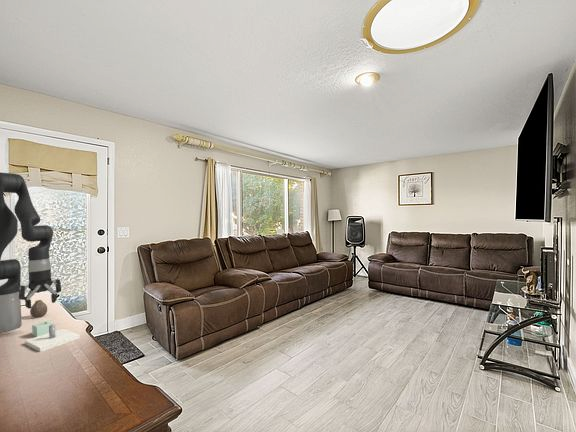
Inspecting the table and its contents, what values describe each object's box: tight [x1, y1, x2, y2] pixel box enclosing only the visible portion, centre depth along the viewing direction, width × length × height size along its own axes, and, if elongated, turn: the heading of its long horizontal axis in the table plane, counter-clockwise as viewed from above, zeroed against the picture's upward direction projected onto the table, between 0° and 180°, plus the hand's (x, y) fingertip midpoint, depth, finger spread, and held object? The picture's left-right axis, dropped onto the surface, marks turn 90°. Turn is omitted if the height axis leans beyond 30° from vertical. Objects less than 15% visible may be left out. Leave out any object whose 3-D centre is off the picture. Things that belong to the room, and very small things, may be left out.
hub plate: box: [24, 323, 80, 353], centre depth 116 cm, size 16×13×7 cm
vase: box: [29, 299, 48, 319], centre depth 150 cm, size 7×7×9 cm
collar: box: [31, 320, 54, 337], centre depth 125 cm, size 6×6×4 cm
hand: (41, 305), depth 125 cm, fingers open, 8 cm apart
